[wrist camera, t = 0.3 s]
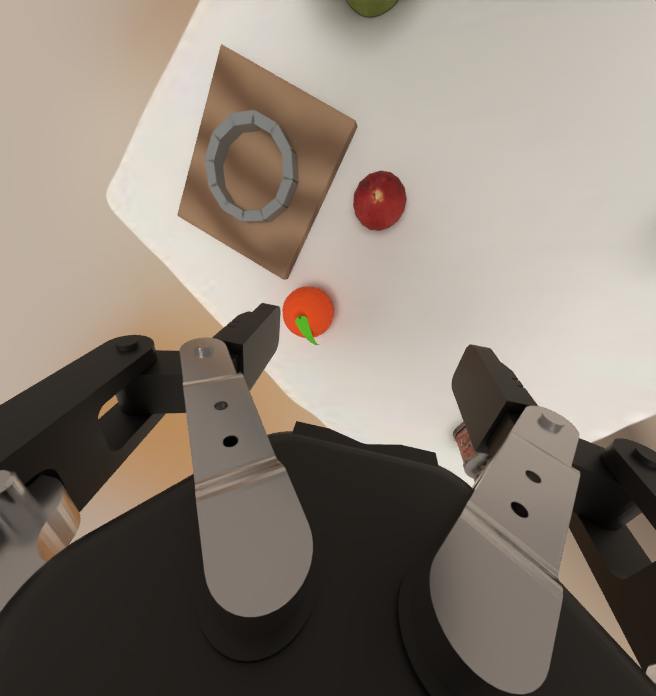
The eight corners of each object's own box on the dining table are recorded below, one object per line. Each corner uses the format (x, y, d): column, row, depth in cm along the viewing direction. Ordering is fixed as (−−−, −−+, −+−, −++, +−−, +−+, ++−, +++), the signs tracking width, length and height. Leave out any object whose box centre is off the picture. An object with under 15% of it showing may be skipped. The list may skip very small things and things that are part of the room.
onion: (348, 203, 35) (336, 189, 27) (387, 169, 33) (384, 144, 25) (375, 242, 35) (369, 238, 28) (414, 210, 33) (419, 198, 26)
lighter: (495, 400, 38) (526, 446, 29) (511, 417, 38) (547, 467, 29) (447, 431, 41) (462, 481, 32) (463, 446, 42) (482, 500, 32)
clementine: (347, 328, 40) (338, 343, 33) (306, 342, 42) (290, 359, 36) (327, 276, 38) (313, 280, 32) (285, 294, 40) (264, 301, 34)
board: (228, 53, 33) (221, 44, 31) (357, 126, 32) (355, 120, 30) (184, 216, 40) (177, 215, 39) (287, 278, 40) (283, 279, 38)
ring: (232, 101, 33) (223, 91, 31) (313, 147, 32) (308, 141, 30) (205, 196, 37) (195, 193, 35) (275, 238, 37) (269, 237, 35)
